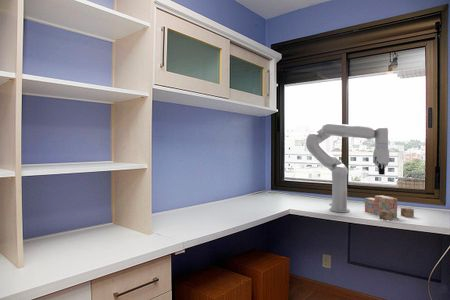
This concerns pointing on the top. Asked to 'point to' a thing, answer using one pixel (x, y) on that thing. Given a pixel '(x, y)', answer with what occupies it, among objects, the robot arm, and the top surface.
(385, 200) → the stack of blocks
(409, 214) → the marked walnut cube
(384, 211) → the marked walnut cube
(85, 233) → the top surface
